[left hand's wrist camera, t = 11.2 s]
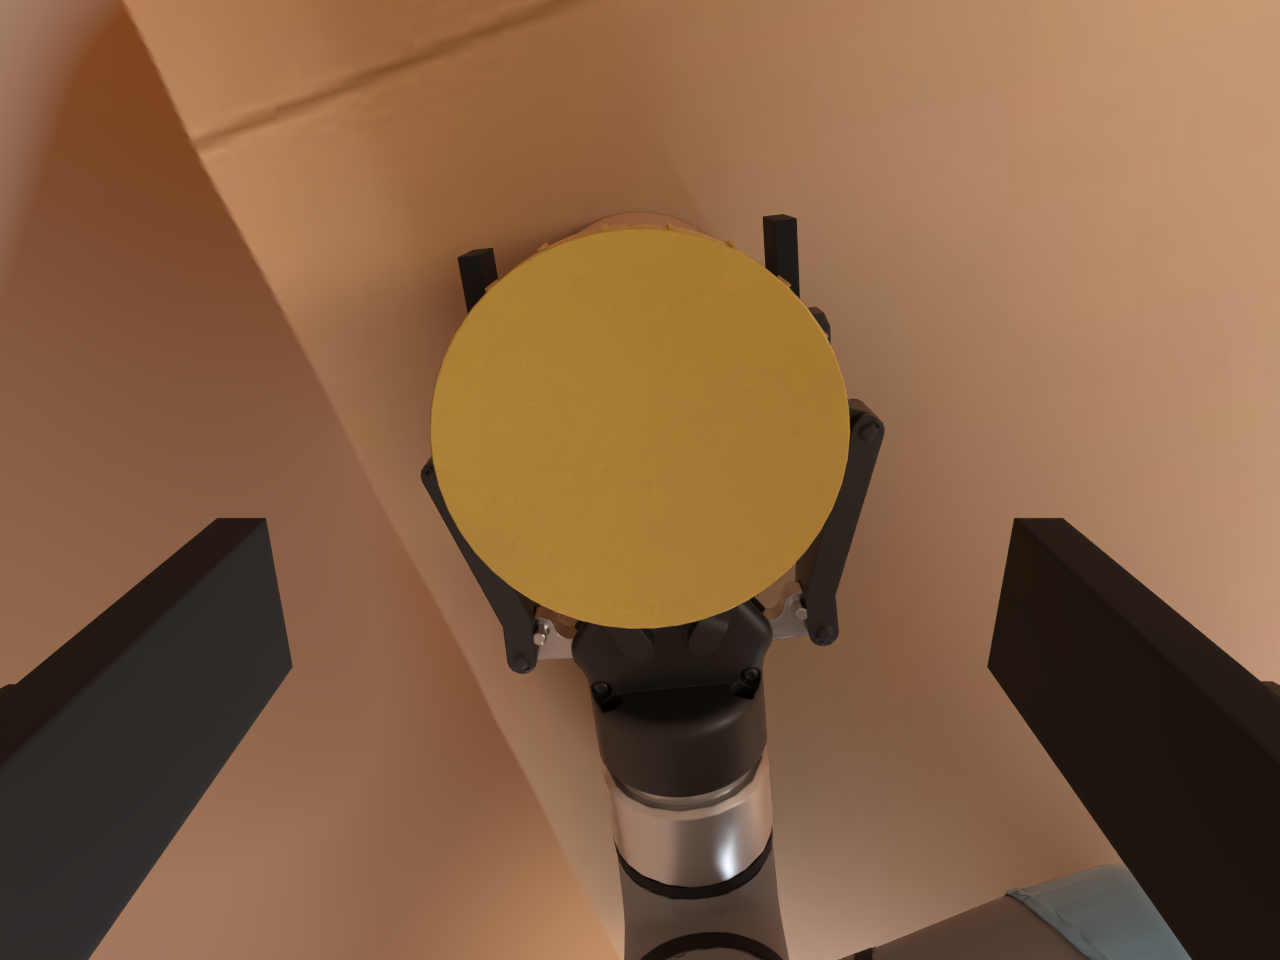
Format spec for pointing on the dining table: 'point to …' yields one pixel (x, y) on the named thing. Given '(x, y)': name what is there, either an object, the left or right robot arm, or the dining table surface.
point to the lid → (639, 426)
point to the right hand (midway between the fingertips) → (626, 234)
